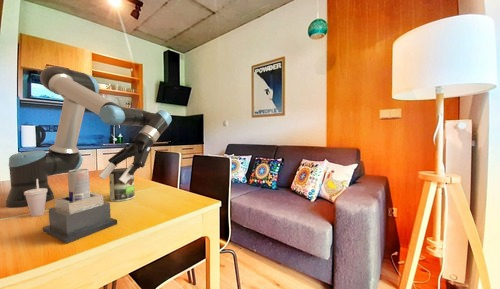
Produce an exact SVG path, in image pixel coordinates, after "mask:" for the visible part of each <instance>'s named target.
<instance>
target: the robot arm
mask: <svg viewBox="0 0 500 289" xmlns="http://www.w3.org/2000/svg"><path fill="white" fill-rule="evenodd" d="M39 80H40V83H41V84H42V86H43V87H44V88H45V89H47V90H48V91H50V92H51V93H53V94H55V95H58V96H60V97H62V99H63V103H62V108H61V111H60V117H59V122H58V126H57V131H56V134H55V140H54V144H52V145H50V146H49V149H48V152H46V151H45V150H39V149H38V150H31V151H23V152H18V153H17V152H16V153H14V154H12V155H10V157H9V158H8V169H9V178H10V190H9V192H8V195H7V198H6V200H5V205H6V207H7V208H17V207H18V208H19V207H26V206H28V203H27V199H26V196H25V195H24V192H25V191H28V190H33V189H37V185H36V179H38V184H39V189H40V188H47V190H48V191H47V193H46V202H49V201H52V200H53V199H54V198H55V196H54V192H53V190H52V187H51V186H50V185H49V183H48V181H49V178H48V177H50V176H57V175H62V174H68V172H69V171H70V170H76V169H80V167H82V164H83V157H82V154H81V152H80V150H79V148H78V147H77V145H78V142H79V141H78V140H79V137H80V131H81V128H82V127H81V126H82V123H83V118H84V115H85V114H84V113H85V111H86V109H87V110H88V111H91V112H92V113H94V114H96V115H98V116H99V119H101V121H102V122H103V123H104V124H106V125H111V126H135V127H136V126H138V127H142V128H141V129H140V131H138V133H137V134H136V135H134V137H133V138H132V142H133V143H132V145H130V144H126V145H125V146H124V147H123V148H122V149H120V150H119V151H118V152H117V153H115V154H114V155H113V156H111V157H110V158H108V162H109V163H108V164H107V165H106V166H105V167H104V168H103V170H102V171H101V172H99V174H98V175H97V176H98V177H99V178H100V179H102V180H103V181H104V180H106V179H107V178H108V177H109V174H110V173H111V172H112V171H113V170H114V169H116V168H117V166H118V165H119V164H120V163H122V162H123V161H125V160H127V159H128V158H132V157H133V162H132V163H131V164H129V166H128V167H127V168H128V169H127V170H126V171H125V172H124V173H123V175H122V176H121V177H120V178H119V180H120V181H122V182H123V183H125V184H126V182H127V181H128V180H129V179H130V177H131V176H132V175H133V174H134V175H135V172H136V171H137V170H138V169H140V168H142V169H143V168H144V167H145V166H146V162H147V160H148V157H149V154H150V152H151V151H152V147H153V145H154V143H156V142H157V141H158V139H159V138H160V136H161V135H162V134H163V132H165V131H166V129H168V127H169V125H170V124H171V122H172V115H171V114H170V113H169V112H168V111H166V110H164V109H159V110H158V111H156V113H155V112H150V111H147V110H143V109H141V108H138V107H125V106H124V107H123V106H120V104H117V103H115V102H113V101H112V100H110V99H108V98H107V97H104V96H102V95H100V94H99V93H100V87H99V83H98V81H97V80H96V78H95V77H93V76H92V75H90V74H88V73H84V72H82V71H81V72H80V71H77V70H74V69H70V68H66V67H64V66H58V65H57V66H55V65H54V66H49V67H46V68H44V69H43V70H42V71H41V73H40V75H39Z"/></svg>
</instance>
